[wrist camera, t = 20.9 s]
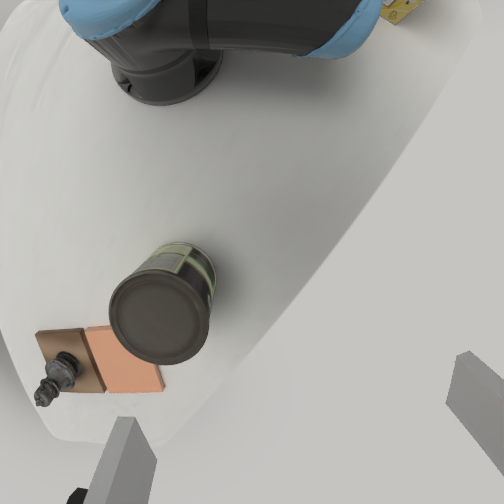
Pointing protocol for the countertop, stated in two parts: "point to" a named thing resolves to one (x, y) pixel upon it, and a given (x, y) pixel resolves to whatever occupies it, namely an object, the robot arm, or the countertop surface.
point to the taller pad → (121, 364)
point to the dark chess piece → (57, 378)
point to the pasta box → (398, 9)
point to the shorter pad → (80, 348)
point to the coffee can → (165, 305)
